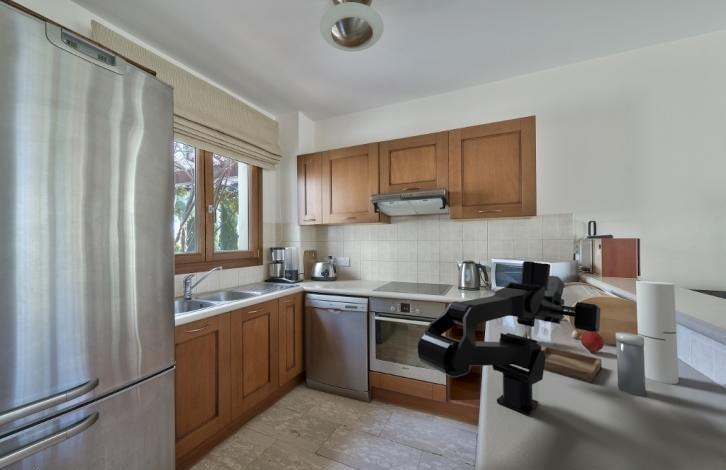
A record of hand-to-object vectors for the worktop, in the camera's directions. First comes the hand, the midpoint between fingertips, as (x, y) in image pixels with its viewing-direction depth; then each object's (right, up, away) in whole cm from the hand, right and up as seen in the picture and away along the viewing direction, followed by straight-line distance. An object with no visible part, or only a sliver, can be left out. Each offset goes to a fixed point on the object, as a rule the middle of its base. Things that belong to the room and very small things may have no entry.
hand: (566, 314), depth 75 cm
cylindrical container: (+23, -16, -1) cm, 29 cm away
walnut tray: (+3, -16, +5) cm, 17 cm away
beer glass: (+4, -18, +27) cm, 32 cm away
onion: (+20, -17, +16) cm, 31 cm away
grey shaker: (+10, -16, -8) cm, 20 cm away
